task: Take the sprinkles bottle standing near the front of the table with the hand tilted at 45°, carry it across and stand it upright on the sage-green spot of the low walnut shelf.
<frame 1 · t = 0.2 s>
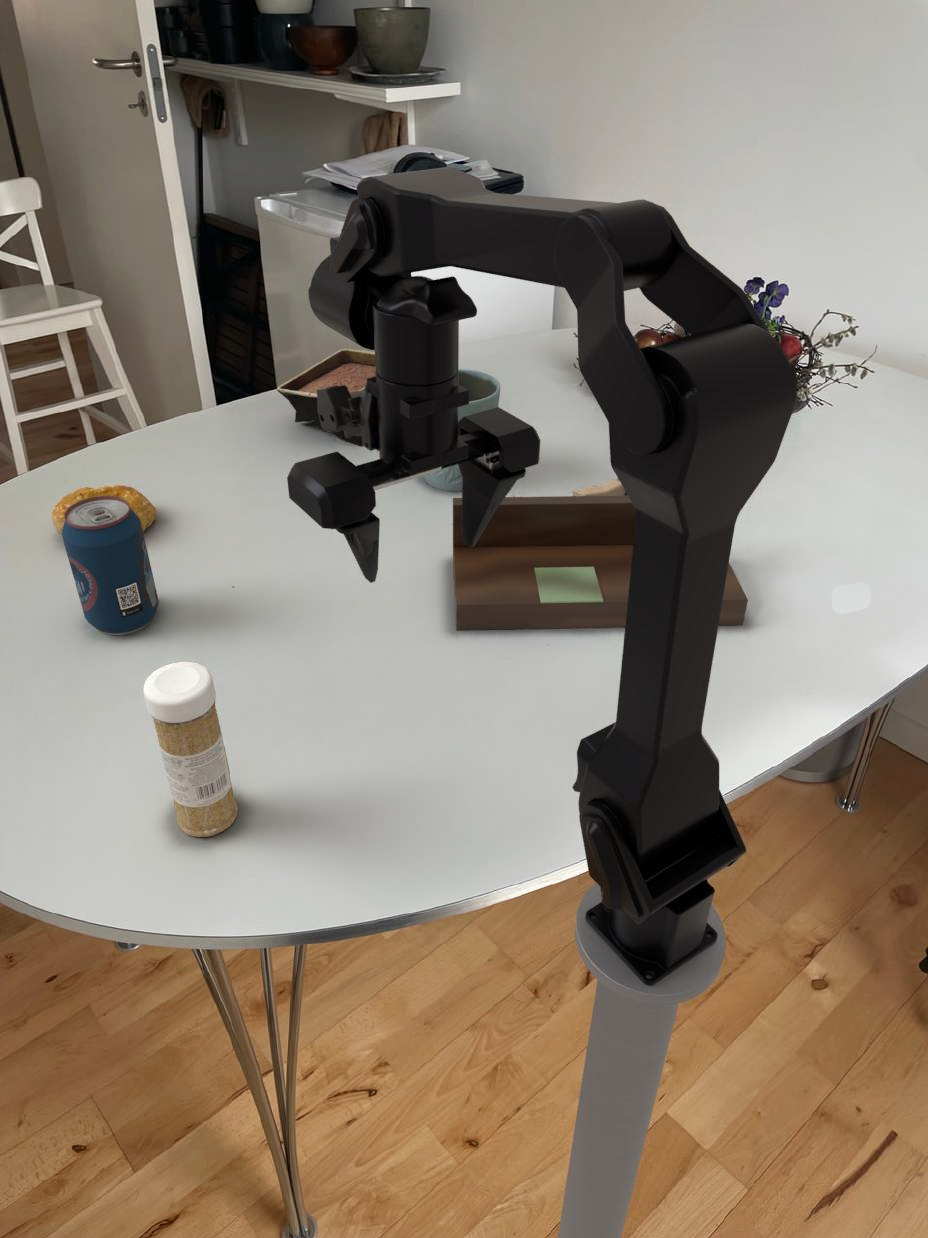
hand: (420, 561, 74), 14 cm above the table, tool pointing down, fingers open, 9 cm apart
teal cup: (457, 478, 117), on the table
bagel: (109, 530, 106), on the table
sprinkles bottle: (208, 819, 71), on the table
shelf: (591, 593, 96), on the table
soda can: (125, 620, 92), on the table
toy figure: (634, 503, 112), on the table
baking dish: (351, 422, 130), on the table
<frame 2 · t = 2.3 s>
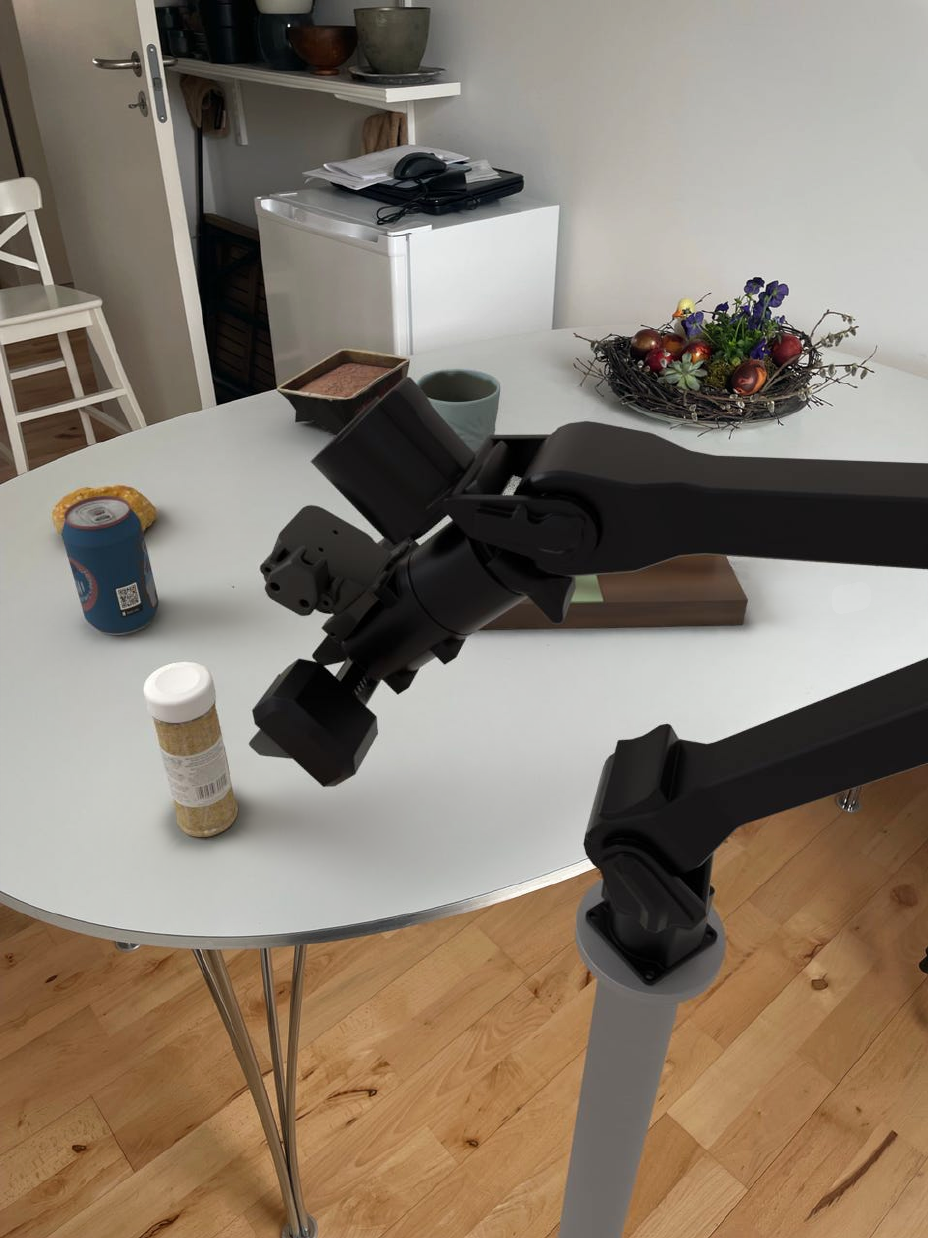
hand: (288, 701, 61), 13 cm above the table, tool tilted 45°, fingers open, 9 cm apart
nothing on the table moved.
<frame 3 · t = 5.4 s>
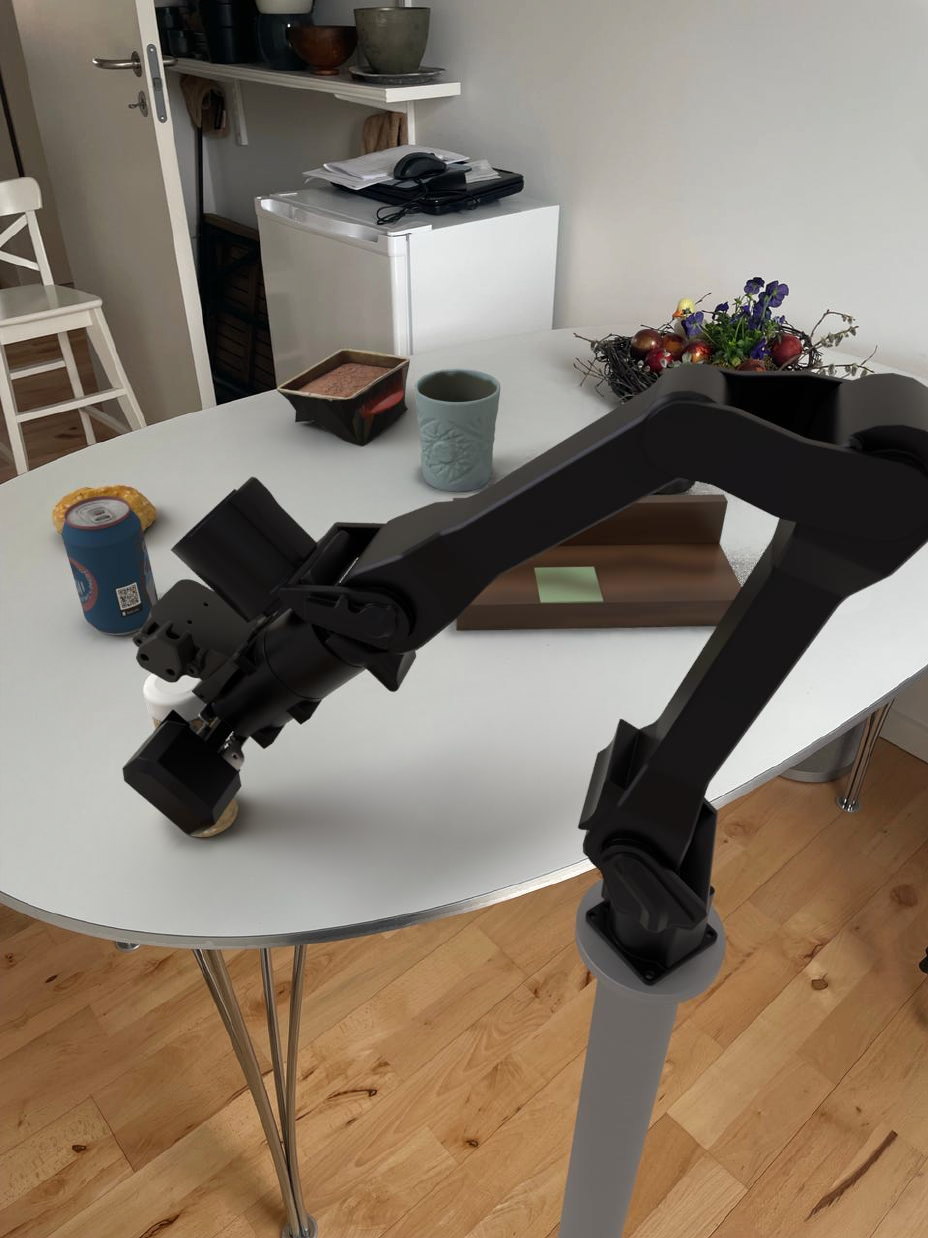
hand: (176, 749, 67), 7 cm above the table, tool tilted 45°, fingers closed on sprinkles bottle, 4 cm apart
sprinkles bottle: (208, 819, 71), on the table, touching gripper
everything else where it was.
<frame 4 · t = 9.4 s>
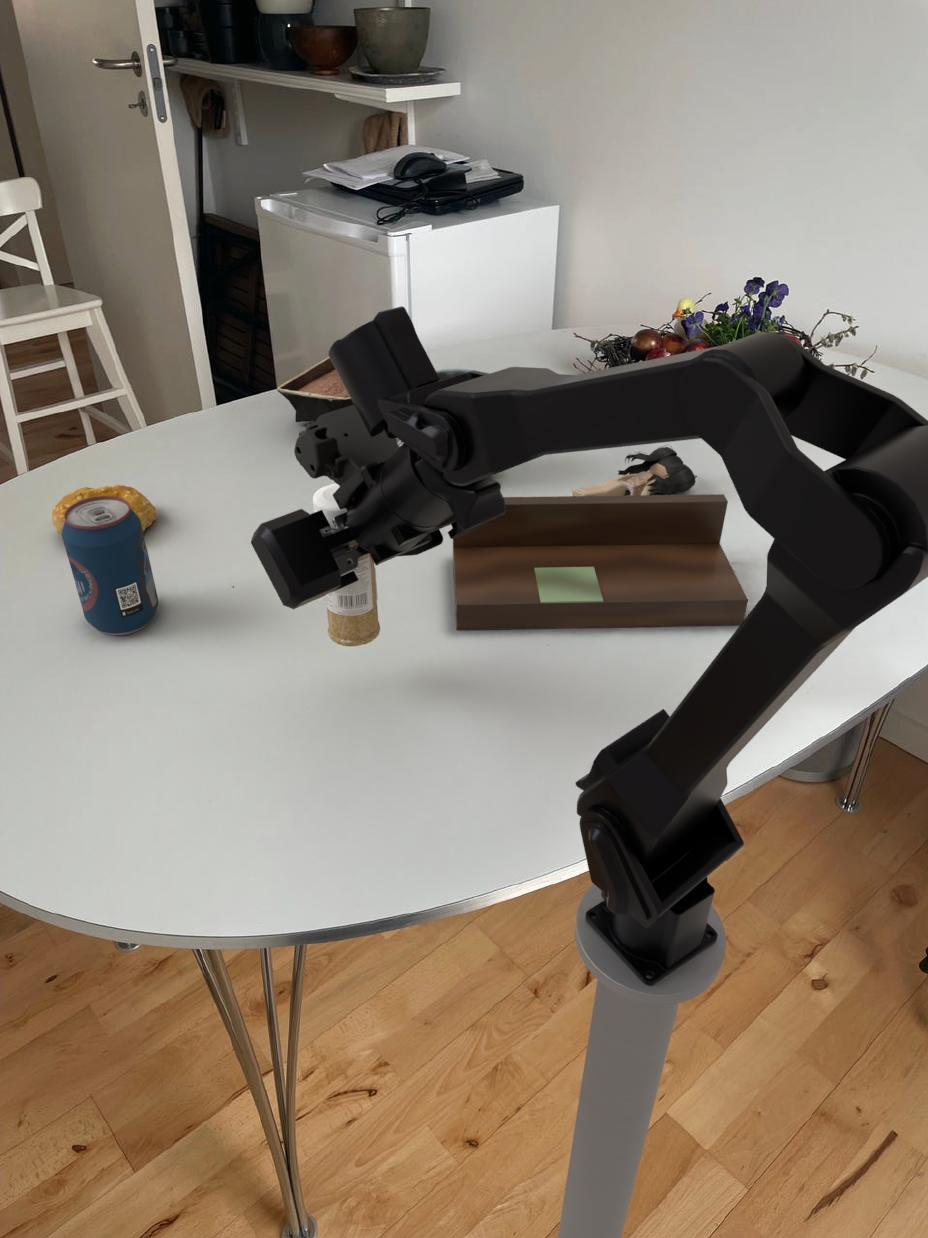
hand: (339, 561, 77), 12 cm above the table, tool tilted 45°, fingers closed on sprinkles bottle, 4 cm apart
sprinkles bottle: (353, 635, 81), point 5 cm above the table, touching gripper
everything else where it was.
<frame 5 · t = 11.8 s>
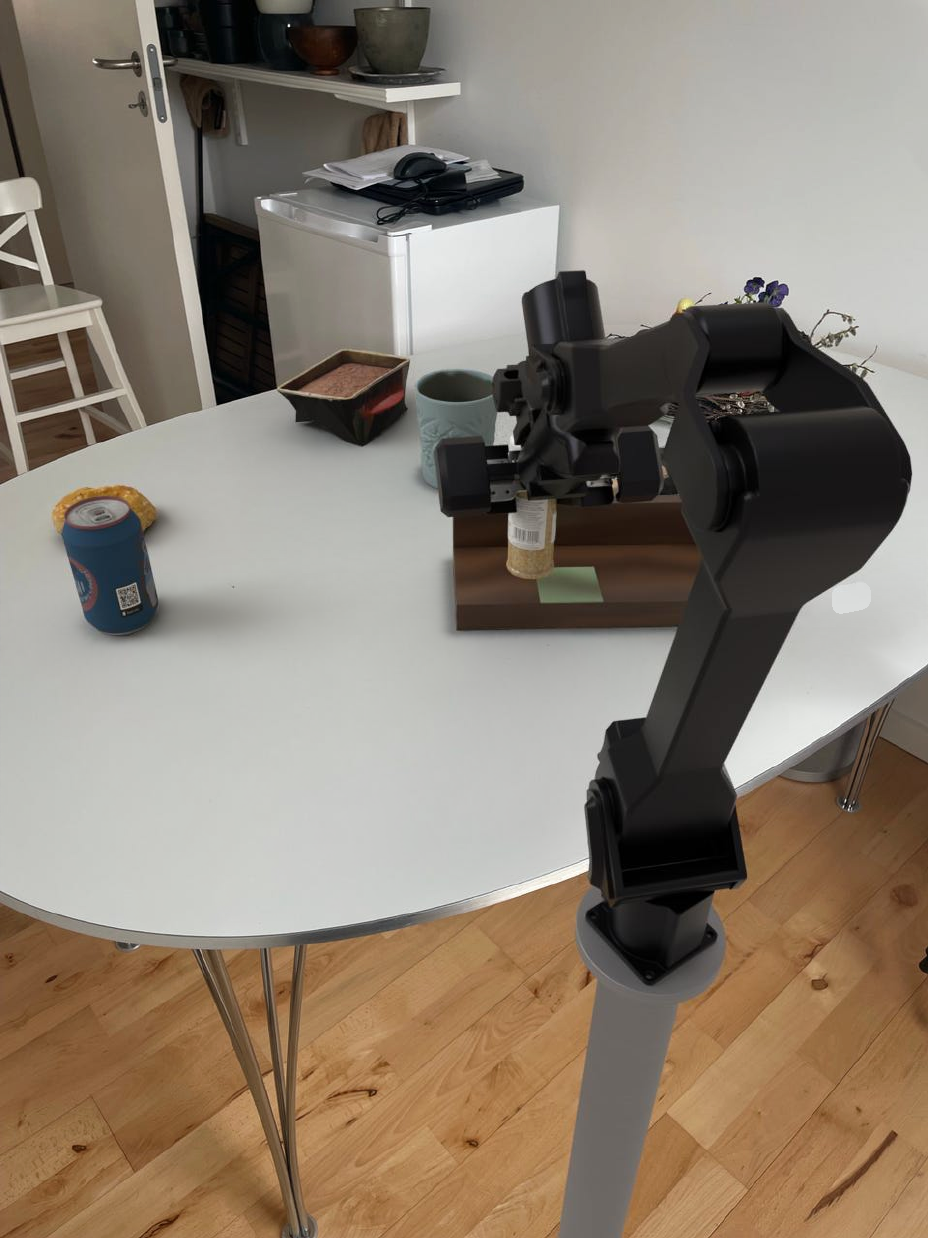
hand: (529, 500, 86), 12 cm above the table, tool tilted 45°, fingers closed on sprinkles bottle, 4 cm apart
sprinkles bottle: (529, 570, 89), point 6 cm above the table, touching gripper
everything else where it was.
when the fingers open (10 cm above the table, at t = 13.6 s): sprinkles bottle stays where it is, resting on shelf.
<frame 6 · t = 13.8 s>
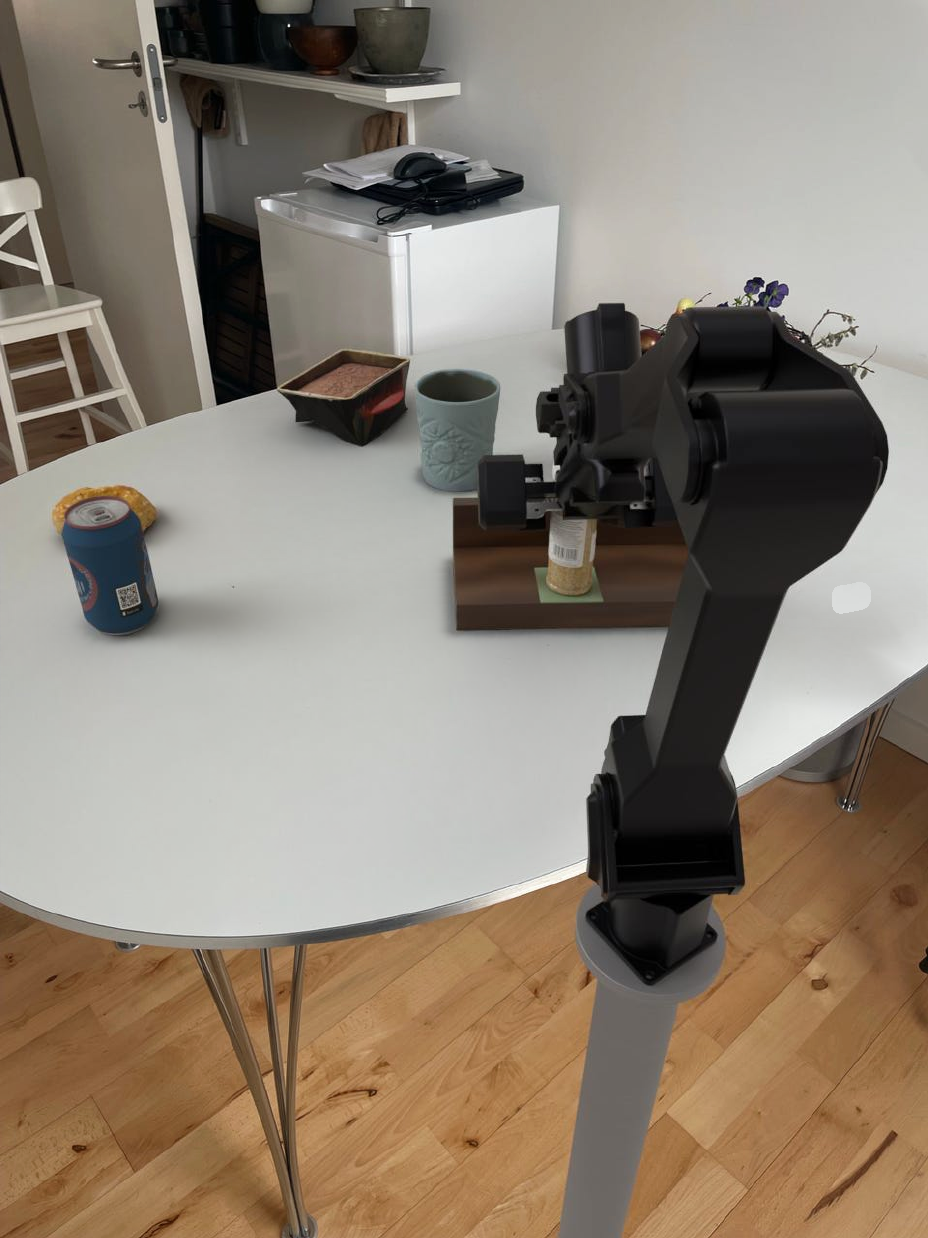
hand: (571, 516, 89), 10 cm above the table, tool tilted 45°, fingers open, 5 cm apart
sprinkles bottle: (568, 586, 91), point 3 cm above the table, touching shelf
everything else where it was.
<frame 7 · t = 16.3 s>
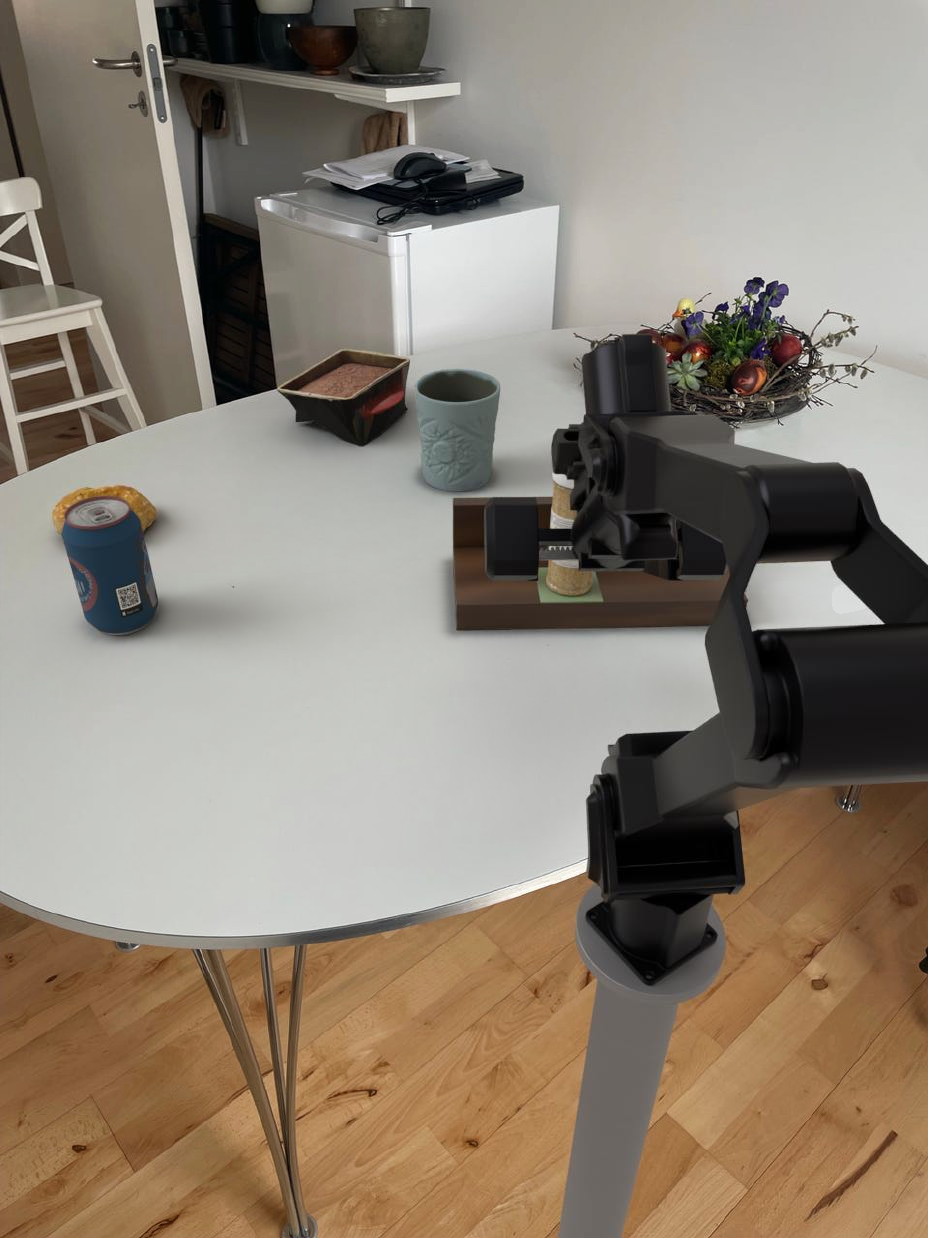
hand: (586, 563, 80), 11 cm above the table, tool tilted 45°, fingers open, 9 cm apart
nothing on the table moved.
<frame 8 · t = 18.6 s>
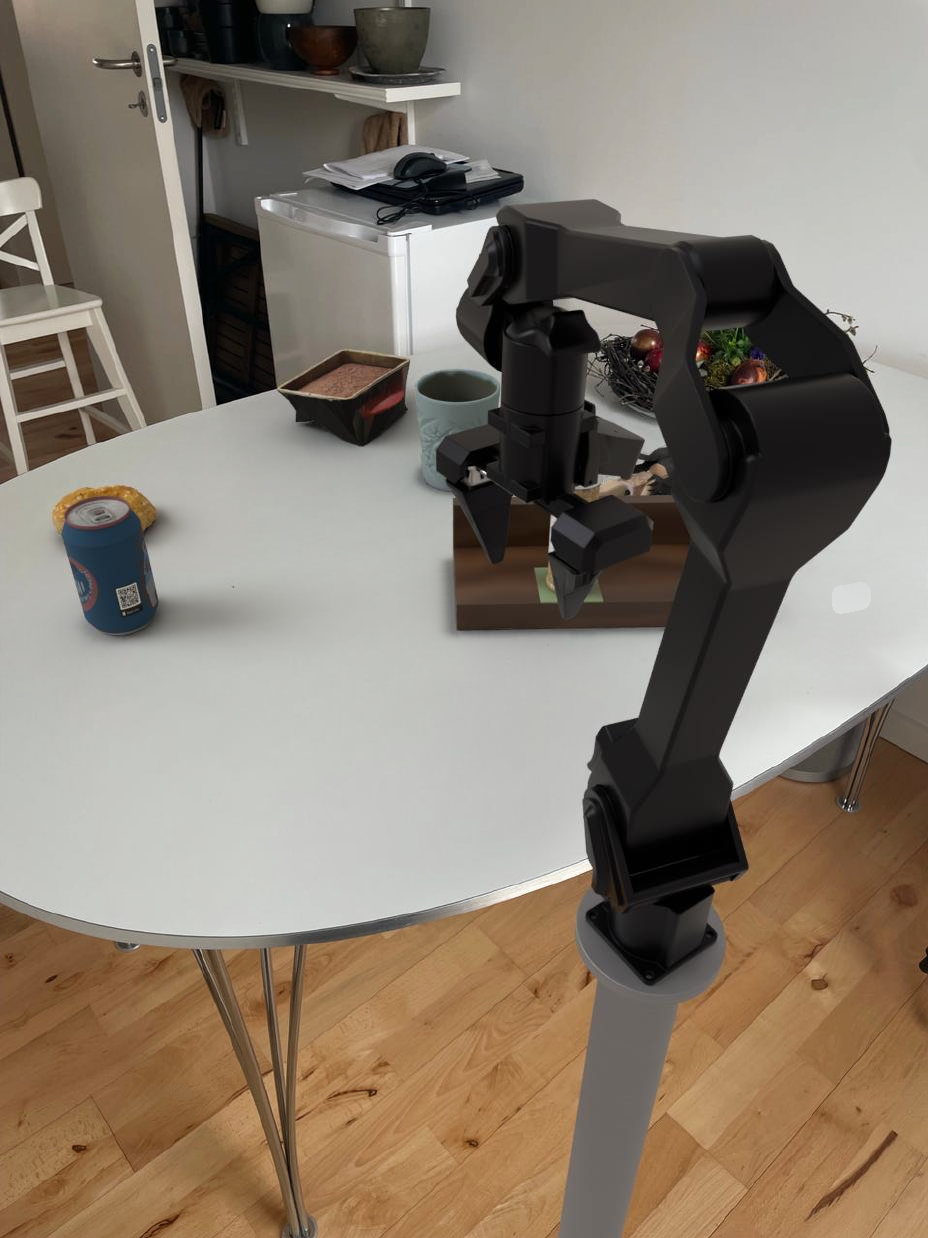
hand: (531, 588, 73), 13 cm above the table, tool pointing down, fingers open, 9 cm apart
nothing on the table moved.
at the end: sprinkles bottle 0.2 cm from the target spot on the shelf, point 3.0 cm above the shelf's base; sprinkles bottle tilted 0°; the gripper is holding nothing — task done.
